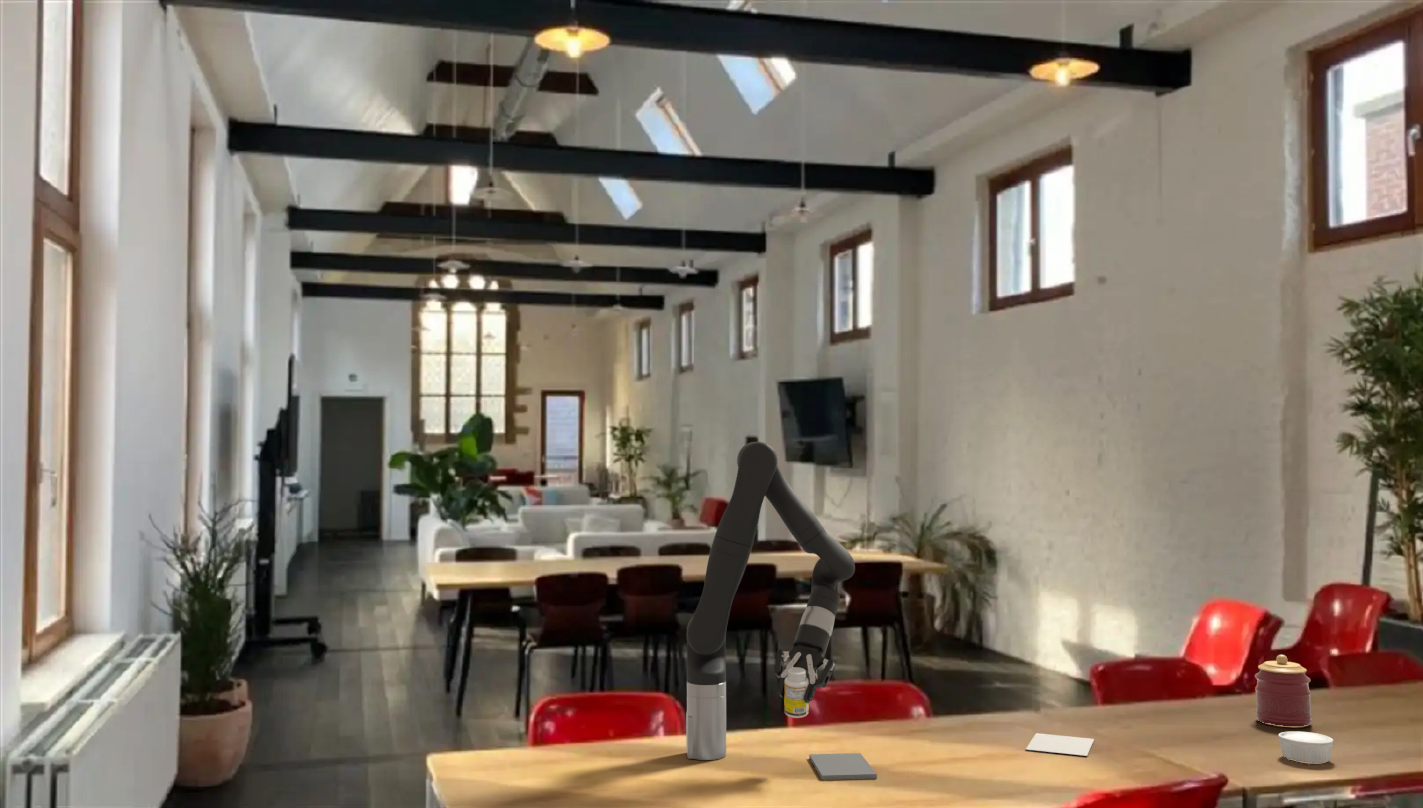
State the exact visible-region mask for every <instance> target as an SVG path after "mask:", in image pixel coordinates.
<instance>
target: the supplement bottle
mask: <svg viewBox="0 0 1423 808" xmlns="http://www.w3.org/2000/svg"><path fill="white" fill-rule="evenodd" d="M808 684H810V678H809V677H807V673H806V670H805V669H803V668H799V667H793V668H790V669H789V670H788V676H787V677H786V678H785V681H784V698H783V699H784V700H783V701H784V702H783V703H784V704H783V705H784V706H783V710H784V714H785V715H786V716H787V717H789V718H793V719H800V718H804V717H807V715H808V714H809V712H810V702H809V703H805V701H804V697H805V693H806V690H807V687H808Z"/></svg>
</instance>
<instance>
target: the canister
mask: <svg viewBox="0 0 1423 808" xmlns="http://www.w3.org/2000/svg"><path fill="white" fill-rule="evenodd" d="M1257 668H1258V669H1259V672H1257V673H1255V674H1254V677H1255V679H1256V680H1257V681H1256V683H1257V684H1256V686H1255V687H1254V688H1255V689H1254V690H1255V698H1256V699H1255V706H1256V707H1255V708H1256V710H1255V717H1256V720H1257V719H1258V720H1259V721H1261V722H1264V723H1271V724H1275V725H1283V726H1304V725H1308V724H1310V723H1312V721H1313V720H1312V713H1311V711H1312V710H1311V709H1312V708H1311V707H1312V706H1311V694H1312V692H1311V691H1310V687H1309V683H1310V682H1311V678H1310V677H1308V676H1307V675H1306V673H1307V671H1308V670H1307V668H1305V667H1303V666H1302V665H1301V664H1300V663H1297V662H1292V661H1288V658H1287V656H1286V655H1285V654H1278V655H1277V656H1276V659H1275V660H1267V661H1264V662H1263V663H1262V664H1258V666H1257Z"/></svg>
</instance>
